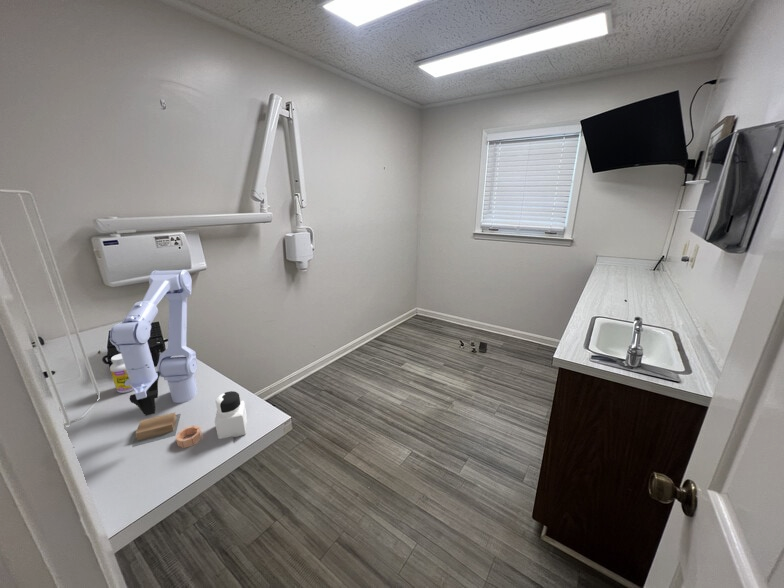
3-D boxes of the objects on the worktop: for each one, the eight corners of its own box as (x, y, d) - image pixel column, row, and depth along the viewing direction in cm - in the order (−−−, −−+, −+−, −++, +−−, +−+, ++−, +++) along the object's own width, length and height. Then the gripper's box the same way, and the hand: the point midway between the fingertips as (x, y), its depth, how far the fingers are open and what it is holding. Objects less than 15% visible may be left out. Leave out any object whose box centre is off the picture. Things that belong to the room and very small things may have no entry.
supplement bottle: (116, 396, 106) (106, 363, 102) (117, 386, 111) (107, 355, 107) (141, 388, 110) (132, 357, 106) (140, 380, 115) (131, 349, 111)
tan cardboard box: (142, 427, 91) (140, 420, 91) (176, 418, 95) (175, 412, 94) (137, 440, 87) (135, 433, 86) (173, 431, 90) (171, 424, 89)
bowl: (180, 437, 89) (178, 429, 88) (202, 431, 91) (200, 423, 90) (177, 452, 84) (174, 443, 83) (200, 445, 86) (198, 436, 85)
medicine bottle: (247, 418, 96) (241, 386, 92) (246, 435, 90) (239, 400, 86) (221, 424, 94) (214, 391, 90) (218, 441, 87) (210, 406, 84)
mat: (142, 425, 93) (141, 423, 93) (181, 415, 97) (180, 413, 97) (132, 449, 85) (131, 446, 84) (175, 437, 89) (175, 435, 88)
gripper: (125, 355, 86) (137, 396, 91) (114, 382, 75) (129, 427, 79) (156, 349, 90) (166, 388, 94) (150, 374, 78) (163, 417, 83)
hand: (151, 405), depth 87 cm, fingers open, 7 cm apart
